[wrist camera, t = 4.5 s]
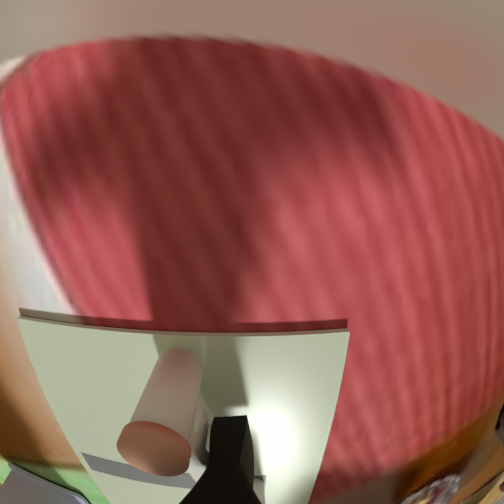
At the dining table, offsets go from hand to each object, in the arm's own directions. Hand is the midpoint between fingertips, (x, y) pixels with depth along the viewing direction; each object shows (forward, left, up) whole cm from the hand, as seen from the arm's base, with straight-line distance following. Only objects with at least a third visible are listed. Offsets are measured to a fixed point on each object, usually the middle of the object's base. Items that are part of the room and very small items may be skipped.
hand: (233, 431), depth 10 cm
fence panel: (-1, -1, -1) cm, 1 cm away
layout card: (-3, -6, -2) cm, 7 cm away
